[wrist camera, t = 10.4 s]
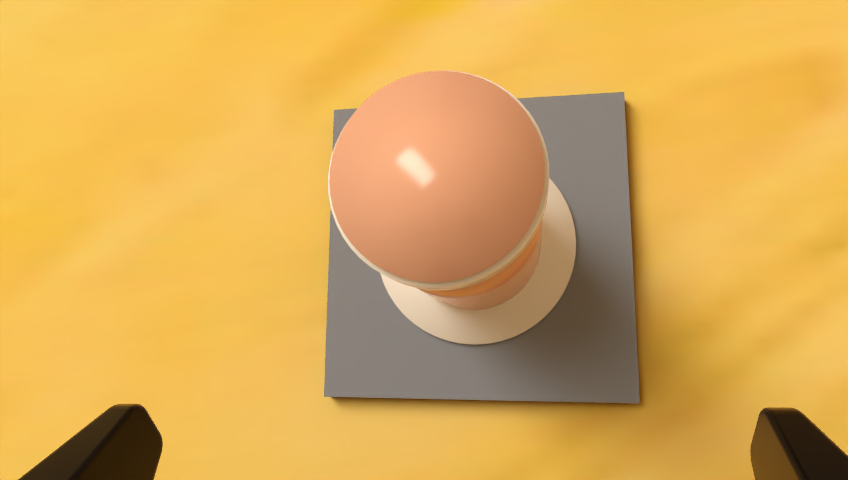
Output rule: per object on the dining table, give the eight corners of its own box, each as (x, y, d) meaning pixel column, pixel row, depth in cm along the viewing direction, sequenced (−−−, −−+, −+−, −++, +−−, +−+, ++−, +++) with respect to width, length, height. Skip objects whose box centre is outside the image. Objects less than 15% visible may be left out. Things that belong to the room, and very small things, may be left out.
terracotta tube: (563, 287, 22) (583, 241, 13) (428, 331, 22) (359, 316, 13) (516, 157, 23) (505, 34, 14) (388, 202, 23) (301, 111, 14)
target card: (637, 402, 21) (640, 403, 20) (329, 395, 23) (322, 396, 22) (621, 98, 23) (624, 89, 22) (338, 115, 25) (332, 108, 24)
